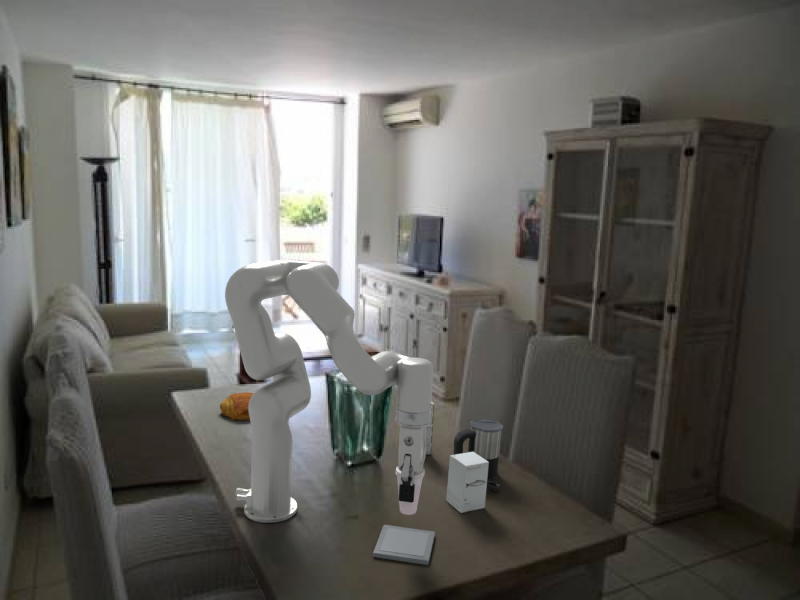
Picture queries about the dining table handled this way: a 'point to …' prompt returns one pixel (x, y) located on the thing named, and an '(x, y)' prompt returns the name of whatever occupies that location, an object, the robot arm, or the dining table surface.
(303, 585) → the dining table surface
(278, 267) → the robot arm
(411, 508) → the smoothie
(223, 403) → the croissant
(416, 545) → the plate
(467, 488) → the supplement box
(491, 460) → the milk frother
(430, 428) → the candy bar box
